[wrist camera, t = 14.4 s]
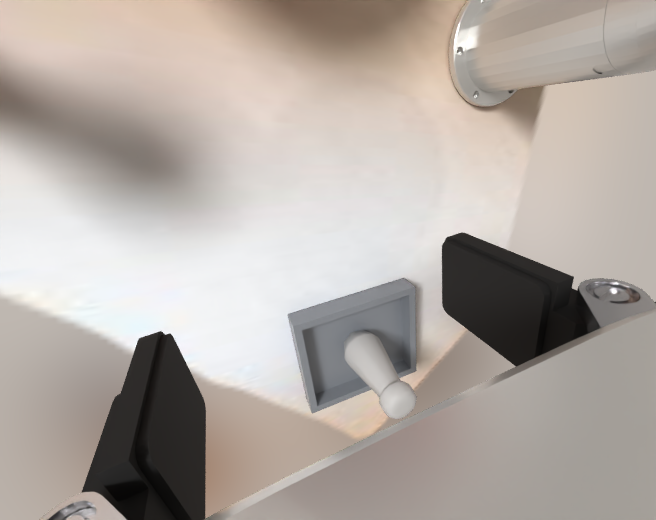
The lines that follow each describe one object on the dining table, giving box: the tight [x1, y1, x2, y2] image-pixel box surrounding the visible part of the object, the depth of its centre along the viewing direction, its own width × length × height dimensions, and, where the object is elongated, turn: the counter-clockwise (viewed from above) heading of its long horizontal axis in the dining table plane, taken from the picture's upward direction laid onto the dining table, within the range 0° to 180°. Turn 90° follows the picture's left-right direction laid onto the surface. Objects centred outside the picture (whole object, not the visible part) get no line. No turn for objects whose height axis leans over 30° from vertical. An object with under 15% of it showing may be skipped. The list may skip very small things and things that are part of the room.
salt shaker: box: [344, 330, 417, 419], centre depth 41 cm, size 6×6×13 cm
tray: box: [288, 278, 416, 413], centre depth 46 cm, size 18×16×3 cm
